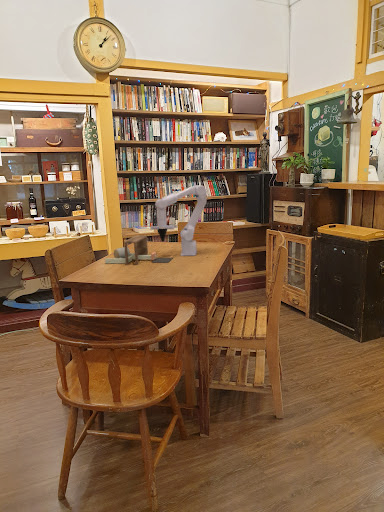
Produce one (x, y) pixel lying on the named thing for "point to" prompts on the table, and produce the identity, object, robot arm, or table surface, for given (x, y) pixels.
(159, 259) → the pit
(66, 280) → the table surface
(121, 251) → the ceramic mug
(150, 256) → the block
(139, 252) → the arch
